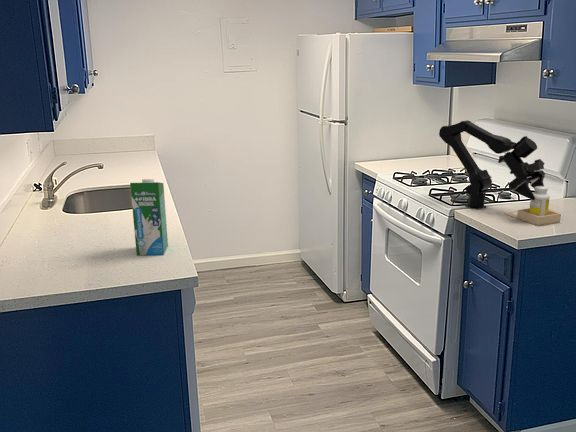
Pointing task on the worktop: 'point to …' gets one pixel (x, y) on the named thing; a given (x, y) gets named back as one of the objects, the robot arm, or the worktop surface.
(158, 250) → the milk carton
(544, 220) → the mailer box
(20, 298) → the worktop surface
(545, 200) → the supplement bottle
